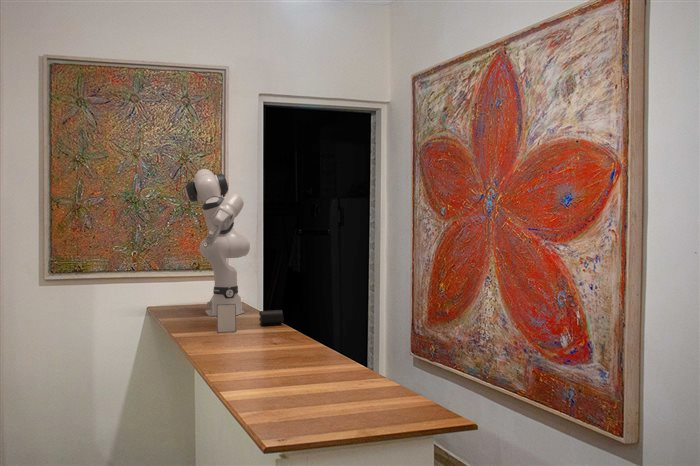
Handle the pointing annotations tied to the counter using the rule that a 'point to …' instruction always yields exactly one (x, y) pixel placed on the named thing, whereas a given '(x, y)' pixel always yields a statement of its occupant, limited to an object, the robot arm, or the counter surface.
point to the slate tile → (226, 318)
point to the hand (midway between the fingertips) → (207, 240)
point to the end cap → (271, 317)
